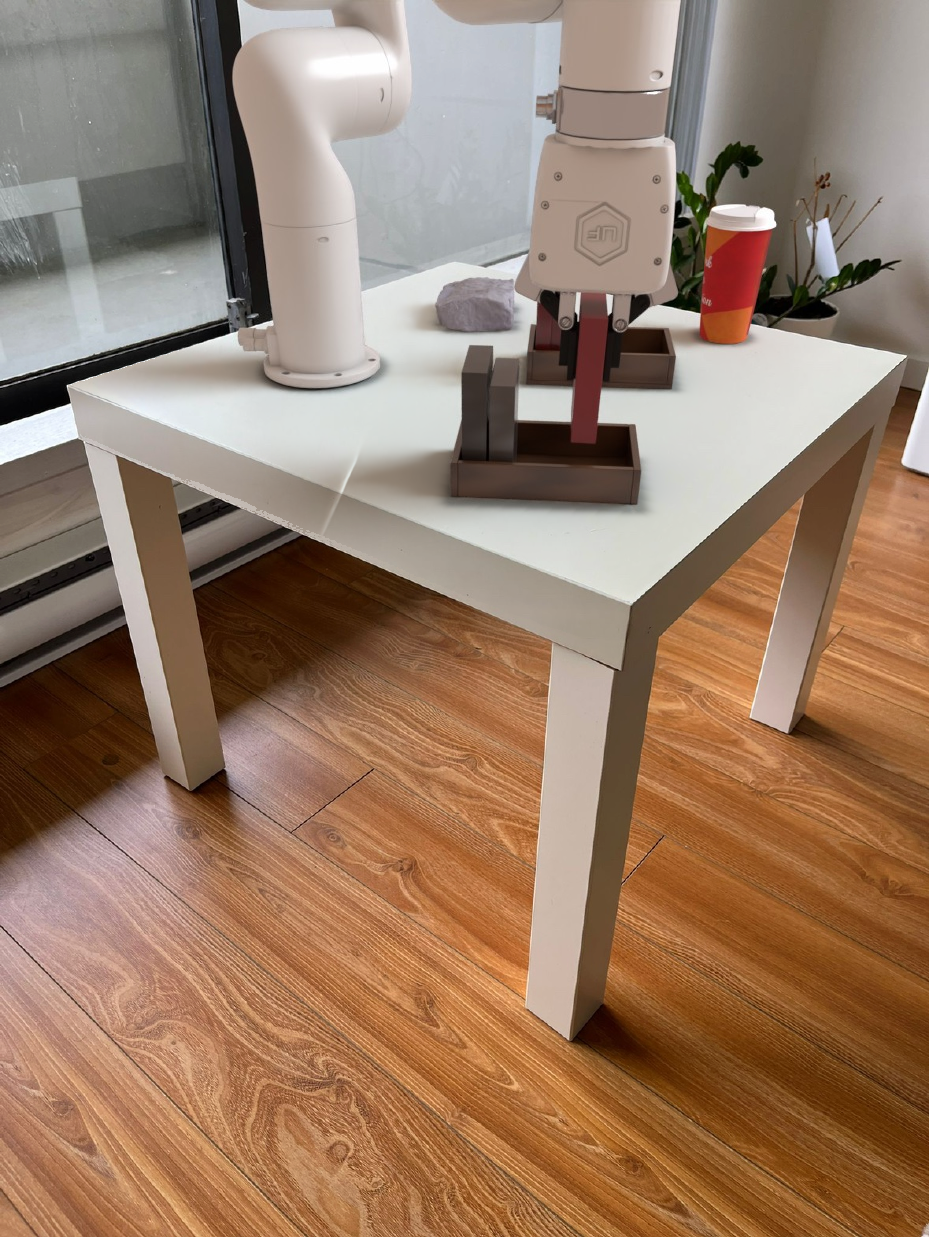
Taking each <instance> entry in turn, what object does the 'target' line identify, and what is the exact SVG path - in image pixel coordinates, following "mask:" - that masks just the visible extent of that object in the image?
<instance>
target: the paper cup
mask: <svg viewBox="0 0 929 1237" xmlns="http://www.w3.org/2000/svg"><path fill="white" fill-rule="evenodd" d="M704 223H705V224H706V225H707V229H706V240H705V252H704V265H703V278H702V288H701V290H702V292H701V304H700V315H699V316H700V317H699V337H700V338H701V339H703V340H704V341H706V342H710V343H714V344H722V345H733V344H735V345H736V344H740V343H744V342H746V340H747V338H748V336H749V332H750V329H751V325H752V320H753V316H754V312H755V309H756V308H755V307H756V303H757V299H758V296H759V295H758V294H759V290H760V287H761V281H762V277H763V273H764V268H765V263H766V259H767V255H768V251H769V247H770V242H771V238H772V233H773V229H774V228H776V227H777V223H776V220H775V211H774V210H773V209H771V208H769V207H764V206H763V207H760V206H758V205H751V204H750V205H746V204H738V203H737V204H736V203H735V204H722V205H716V206H713V207H712V208H711V209H710V212H709V215H708V216H707V218H706V219H705V220H704Z"/></svg>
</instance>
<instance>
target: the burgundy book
mask: <svg viewBox="0 0 929 1237" xmlns="http://www.w3.org/2000/svg"><path fill="white" fill-rule="evenodd" d="M578 310H579V311H578V322H579V341H578V352H577V364H576V376H575V379H574V381H573V386H572V392H571V394H572V395H571V396H572V397H571V406H570V422H571V443H588V444H596V435H597V425H598V423H599V414H600V404H601V395H602V387H601V386H602V376H603V366H604V356H605V347H606V337H607V327H608V315H609V313H608V312H609V311H608V300H607V294H606V293H581V292H580V299H579V308H578Z"/></svg>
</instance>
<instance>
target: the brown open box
mask: <svg viewBox="0 0 929 1237" xmlns="http://www.w3.org/2000/svg"><path fill="white" fill-rule="evenodd" d="M557 292H558V293H559V294H560V291H557ZM535 321H536V322H535V323H536V324H534V323H531V324H530V328H529V333H528V334H529V335H528V342H527V351H526V374H525V378H526V379H525V384H526V385H537V386H538V385H541V386H568V387H569V386H570V387H571V386H572V387H573V381H574V379H573V381H572V380H567V366H559V351H560V338H561V328H560V327H559V325H558V323H557V321H556V320H555V319H554V318H553V317H552V316H551V315H550V314H549V313H548V311H547V310H546V309H545V308H544V307H543V306H542V305H541V304H540V303H538V302H536V320H535ZM676 360H677V355H676V351H675V347H674V343H673V340H672V336H671V331H670V328H669V327H653V326H652V327H651V326H650V327H649V326H646V327H645V326H628V328H627V329H626V330H625V331H624V332H623V337H622V346H621V355H620V364H619V368H611V370H610V380H609V382H603V380H602V386H601V388H631V389H632V388H633V389H634V388H636V389H660V390H661V389H662V390H672V389H673V384H674V383H673V382H674V376H675V368H676Z"/></svg>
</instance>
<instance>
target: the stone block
mask: <svg viewBox="0 0 929 1237" xmlns="http://www.w3.org/2000/svg"><path fill="white" fill-rule="evenodd" d="M514 286H515V279H514V278H511V279H501V278H490V277H488V276H487V277H468V278H465V279H462V280H455V281H453V282H449V283H447V284H444V285H443V286H442V289H441V290H440V291H439V293H438V296H437V298H436V302H435V304H434V306H435V309H436V317H437V319H438V321H439V324H440V325H442V326H443V327H444V328H445V329H449V330H455V331H462V332H470V333H471V332H483V331H485V332H487V331H489V332H495V331H509V330H512V328H513V327H514V318H515V288H514Z"/></svg>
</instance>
